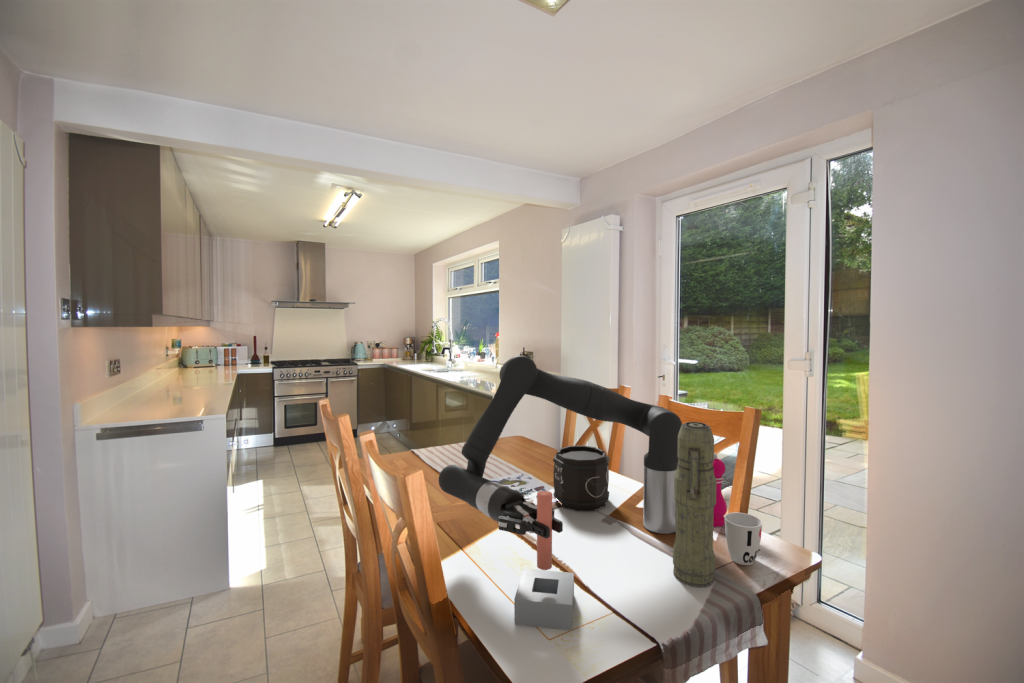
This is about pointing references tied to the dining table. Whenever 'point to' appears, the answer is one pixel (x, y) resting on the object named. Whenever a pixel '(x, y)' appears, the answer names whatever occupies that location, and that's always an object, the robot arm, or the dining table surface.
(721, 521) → the pepper mill
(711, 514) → the thermos
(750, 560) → the cup
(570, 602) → the socket block
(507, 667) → the dining table surface
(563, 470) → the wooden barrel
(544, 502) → the pin
